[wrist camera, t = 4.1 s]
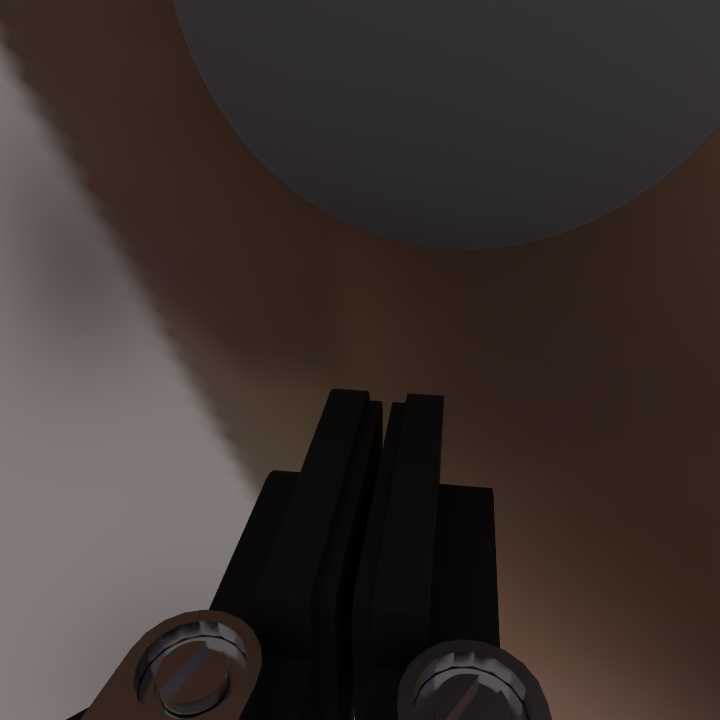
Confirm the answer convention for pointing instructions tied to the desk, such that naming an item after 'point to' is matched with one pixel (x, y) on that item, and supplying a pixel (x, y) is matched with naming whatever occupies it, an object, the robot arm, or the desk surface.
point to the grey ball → (462, 106)
